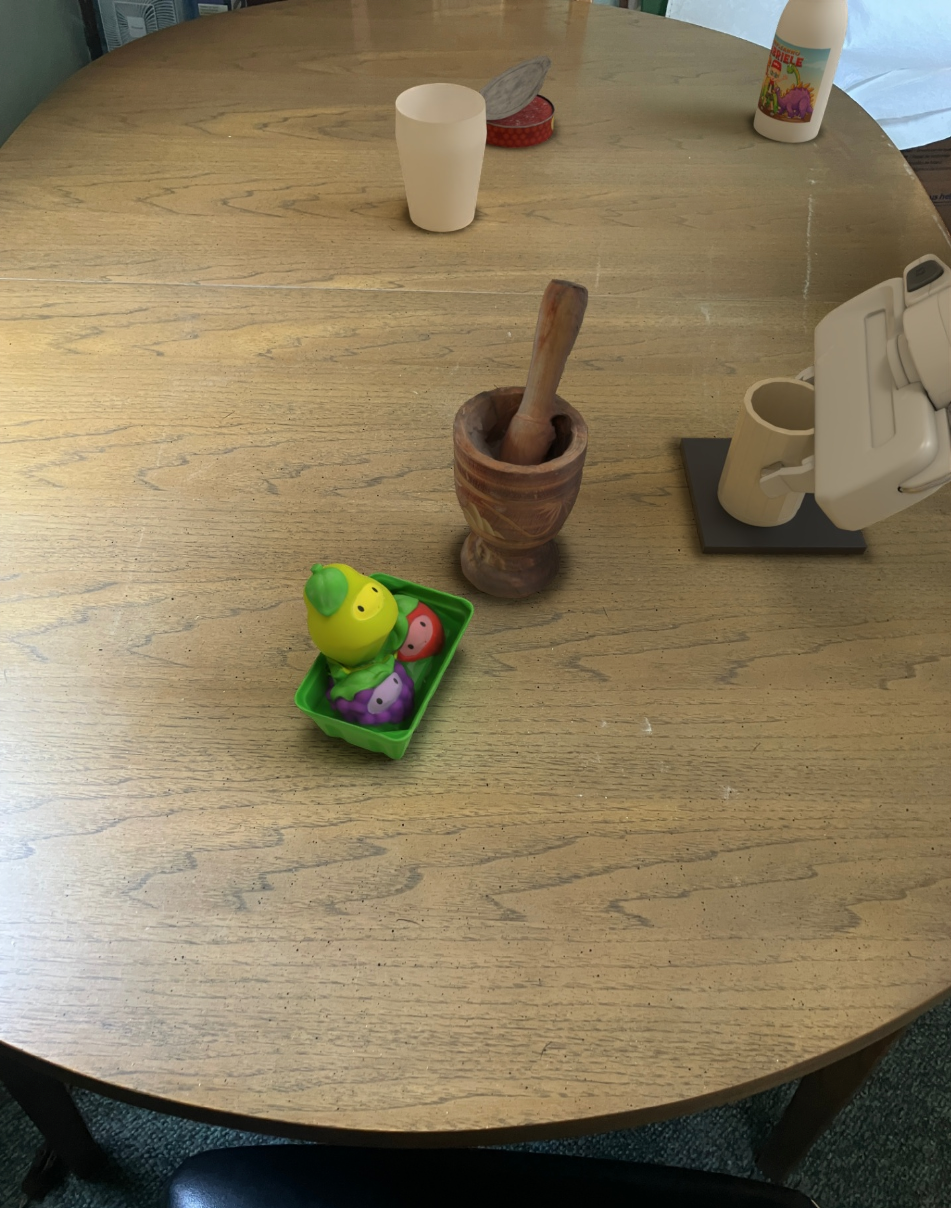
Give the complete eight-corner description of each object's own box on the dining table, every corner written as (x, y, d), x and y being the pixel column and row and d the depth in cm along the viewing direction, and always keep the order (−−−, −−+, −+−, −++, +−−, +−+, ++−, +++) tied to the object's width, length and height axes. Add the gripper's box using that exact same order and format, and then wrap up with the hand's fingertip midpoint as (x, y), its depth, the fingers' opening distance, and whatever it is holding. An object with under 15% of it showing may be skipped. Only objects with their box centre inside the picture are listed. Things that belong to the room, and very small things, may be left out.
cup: (385, 210, 102) (378, 92, 92) (461, 191, 104) (461, 75, 95) (421, 251, 97) (418, 131, 87) (499, 230, 99) (504, 112, 90)
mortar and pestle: (462, 490, 75) (464, 259, 59) (572, 498, 74) (602, 268, 59) (447, 603, 68) (445, 374, 52) (568, 612, 67) (602, 385, 52)
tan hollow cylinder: (789, 470, 75) (823, 377, 68) (807, 527, 71) (845, 435, 64) (711, 469, 75) (737, 376, 68) (724, 527, 71) (753, 434, 64)
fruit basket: (409, 787, 58) (400, 684, 50) (282, 740, 60) (252, 633, 52) (477, 649, 65) (480, 536, 56) (361, 611, 67) (346, 496, 58)
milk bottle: (779, 112, 118) (827, -79, 102) (830, 135, 114) (888, -60, 99) (738, 130, 115) (782, -65, 99) (789, 154, 111) (843, -44, 95)
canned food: (530, 190, 114) (521, 133, 104) (459, 159, 116) (445, 100, 107) (577, 115, 115) (573, 51, 105) (506, 85, 117) (496, 21, 108)
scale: (833, 442, 79) (844, 414, 77) (876, 559, 71) (890, 532, 68) (676, 441, 79) (682, 412, 77) (701, 559, 71) (709, 531, 68)
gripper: (1000, 502, 55) (785, 580, 64) (965, 305, 68) (789, 393, 77) (952, 431, 52) (734, 523, 61) (925, 239, 65) (747, 338, 74)
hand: (765, 449), depth 69 cm, fingers closed on tan hollow cylinder, 6 cm apart
